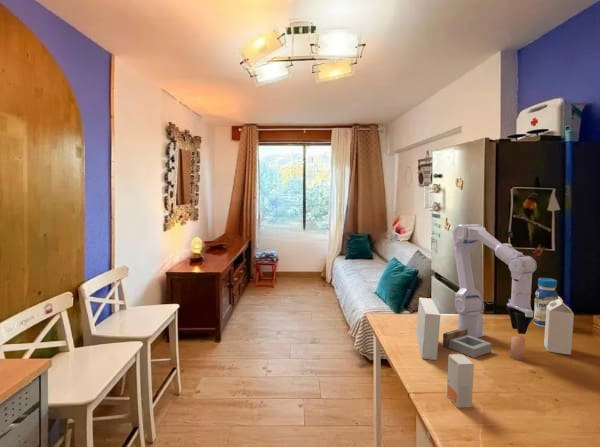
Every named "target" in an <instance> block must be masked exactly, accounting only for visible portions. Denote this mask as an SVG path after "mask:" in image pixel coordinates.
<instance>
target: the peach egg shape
mask: <svg viewBox="0 0 600 447" xmlns="http://www.w3.org/2000/svg"><path fill="white" fill-rule="evenodd" d="M525 343H526V339H525V338H524V337H522V336H519V335H512V336H511V342H510V354H509V356H510V358H511V359H513V360H514V361H515V360H516V361H524V360H525V346H526V344H525Z"/></svg>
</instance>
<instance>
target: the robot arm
mask: <svg viewBox="0 0 600 447" xmlns="http://www.w3.org/2000/svg"><path fill="white" fill-rule="evenodd" d="M452 236H453V249H454V257H455V258H454V259H455V265H456V272H457V273H456V274H457V280H458V285H459V289H458V291H456V293H455V294H454V308H455V310H456V313H458V317H457V318H458V321H457V322H458V323H457V330H458V329H461V328H466V329H468V332H467V335H470V336H472V337H475V338H478V339H480V338H483V337H484V336H485V335H486V334H485V333H484V317H483V315H482V313H481V311H483V310H484V307H485V305H484V304H485V303H484V300H483V298H482V296H481V292H480V291H479V290H477V288H476V287H475V281H474V274H473V268H472V260H471V253H470V248H471V247H472V245H474V244H475V243H477V242H481V243H482V244H484V245H485V246H487V247H488V248H489V249H492V250H493V251H494V254H495V257H497V258H498V259H499V260H501V261H502V262H504V263H505V264H506V265H507V266H508V269H509V272H510V274H511V275H510V277H511V294H510V298H508V303H506V311H507V313H508V315H509V319H510V324H511V328H512V329H513V330H516V331H517V334H519V335H526V334H527V331H528V327H529V325H530V324H531V322H532V321H533V320H534V310H532V306H531V300H532V299H531V295H532V282H533V280H532V279H533V273H535V271H536V270H537V267H538V266H537V265H538V264H537V261H536V260H535V259H534V258H533V256H531V255H524V253H523V252H522V251H519V250H517V249H515V247H513V245H512V244H511V243H507V242H506V243H501V242H500V241H499V240H498V239H497V238H495V237H494V236H493V235H492V234H491V233H489V232H488V231H487V229H486V227H484V226H482V225H481V224H479V223H473V224H461V223H460V224H457V225H456V226H455V227H454V229H453V230H452Z"/></svg>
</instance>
